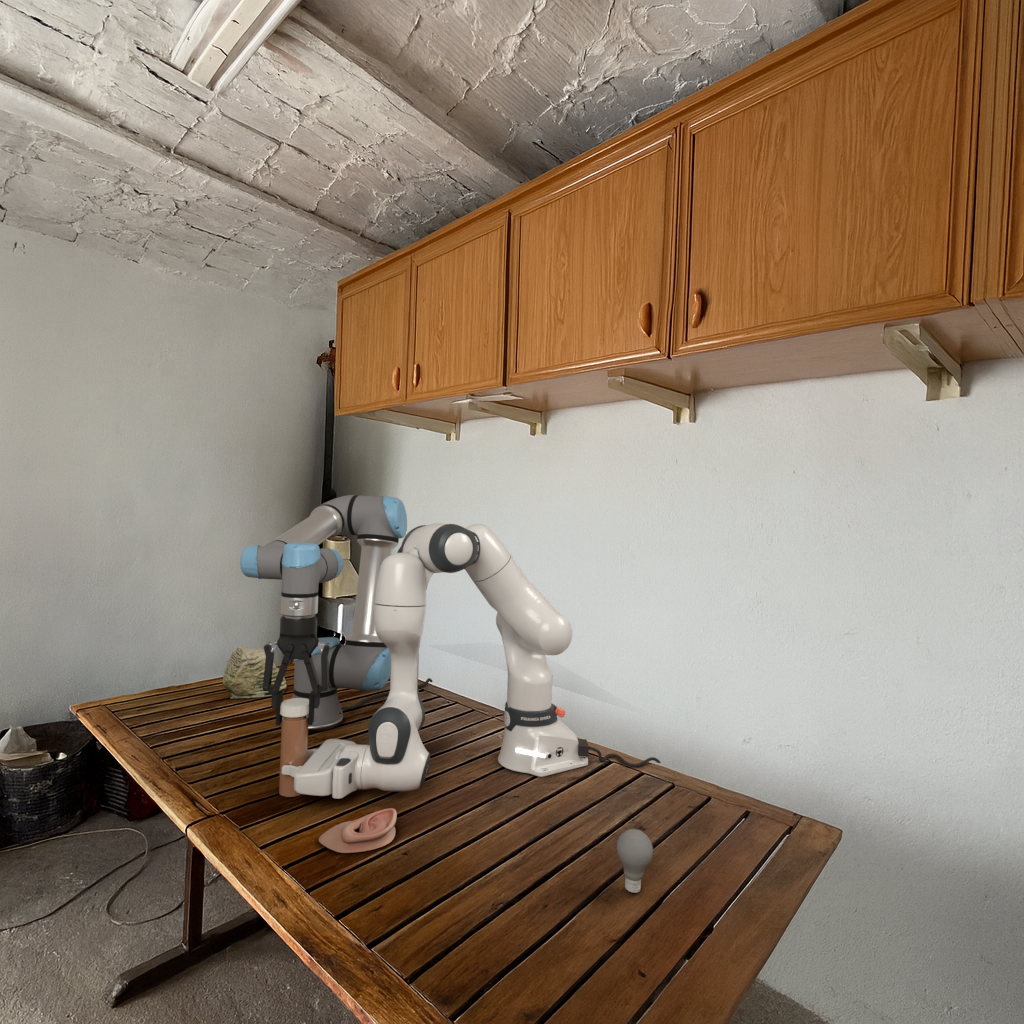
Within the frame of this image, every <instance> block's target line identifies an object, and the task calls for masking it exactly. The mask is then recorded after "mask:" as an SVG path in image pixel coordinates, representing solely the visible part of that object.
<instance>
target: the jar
mask: <svg viewBox="0 0 1024 1024" xmlns="http://www.w3.org/2000/svg"><path fill="white" fill-rule="evenodd" d="M308 718H309V716H308V715H305V716H302V717H284V716H282V720H281V724H280V747H279V748H280V750H279V777H278V778H279V779H278V794H279V795H280V796H282V797H285V798H295V797H298V796H301V795H302V794H299V793H297V792H296V791H294V777H292V776H290V775H283V774H282V767H283V766H284V765H285V764H286V763H288V764H293V766H296V767H298V766H303V765H304V764H305V763H306V762H307V761H308V760H307V751H308V750H309V749H308V747H309V746H308V745H309V732H308Z"/></svg>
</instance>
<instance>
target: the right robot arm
mask: <svg viewBox="0 0 1024 1024" xmlns="http://www.w3.org/2000/svg"><path fill="white" fill-rule="evenodd" d="M463 570H464V571H465V572H466V573H467V575H468V576H469V578H470V579H471V582H473V584H474V585H475V586H476V588H477V589H478V591H479V592H480V593H481V595H482V596H483V598H484V599H485V601H486V602H487V603H488V605H489V606H490V607H491V608H492V609H494V610H495V611H496V612H497V613H496V616H495V625H496V628H497V630H498V632H499V634H500V636H501V640H502V645H503V650H504V654H505V655H504V656H505V661H506V668H507V669H506V671H507V691H506V701H505V704H504V711H503V712H504V713H503V726H504V731H503V737H502V743H501V746H500V750H499V754H498V756H497V762H498V763H499V764H500V765H501V767H503V768H505V769H508V770H509V771H510V770H511V771H513V772H516V773H517V772H518V773H524V774H530V775H532V776H535V777H540V778H543V777H547V776H550V775H556V774H559V773H563V772H567V771H570V770H571V771H572V770H575V769H578V768H579V769H580V768H582V767H586V766H589V752H590V751H594V752H595V753H597V755H598V759H599V761H600V762H602V763H604V762H606V761H607V760H608V759H609V758H611V757H612V758H616V759H618V760H619V761H620V762H622V764H624V765H625V766H627V767H631V768H638V767H641V766H644V765H645V764H648V763H649V762H651V761H654V762H656V763H657V764H661V761H660V759H658V758H657V757H654V756H651V757H648V758H646V759H645V760H643V761H641V762H638V763H631V762H628V761H626V760H625V759H624V758H623V757H622V756H621V755H618V754H616V753H608V754H606V755H605V756H604V757H603V755H602V752H601V751H600V749H598V748H597V747H593V746H590V745H589V742H588V740H587V738H585V739H584V738H578V737H577V734H576V733H575V732H574V731H573V730H572V729H571V728H569V727H568V726H567V725H566V724H564V722H562V721H561V720H560V719H559V718H561V719H562V718H564V717H565V716H566V710H565V709H564V708H563V707H558V706H557V705H555V704H553V703H552V700H553V678H554V675H553V672H552V669H551V667H550V666H549V663H548V661H547V658H546V657H547V656H558V655H561V654H562V653H564V652H565V651H567V649H568V648H569V646H570V645H571V643H572V640H573V635H574V633H573V627H572V624H571V621H570V620H568V619H567V617H565V616H564V615H563V614H561V612H559V611H558V610H557V609H556V607H554V605H553V604H552V603H551V602H550V601H549V600H548V599H547V598H546V596H544V594H543V593H542V592H541V591H540V590H539V589H538V588H537V587H536V586H535V585H534V583H532V582H531V581H530V579H529V578H528V577H527V576H526V573H524V571H523V570H522V568H521V566H520V565H519V564H518V563H517V561H516V559H514V556H513V555H512V554H511V551H509V549H508V548H507V547H506V546H505V543H503V541H502V540H501V539H500V538H499V536H498V535H496V534H495V533H494V531H492V529H491V528H489V527H488V526H487V525H485V524H482V523H475V524H471V525H468V526H466V527H464V526H462V525H459V524H455V523H443V522H442V523H440V522H437V523H436V522H435V523H431V524H423V525H419V526H416V527H414V528H412V529H410V530H409V531H408V532H407V533H406V535H405V537H403V539H402V542H401V545H400V546H399V548H398V550H397V552H396V553H392V555H390V556H388V557H386V558H385V559H384V560H383V562H382V564H381V567H380V571H379V575H378V580H377V585H376V592H375V604H374V623H375V631H376V635H377V636H378V638H379V639H380V640H381V641H382V642H383V643H384V644H385V645H386V646H387V648H388V650H389V652H390V657H391V672H390V677H389V679H390V681H389V682H390V683H389V691H388V692H389V695H387V698H386V700H385V702H384V704H383V705H382V706H380V707H379V708H378V710H377V711H375V712H374V714H373V715H372V717H371V718H370V720H369V723H368V726H367V727H368V728H367V730H368V731H367V732H368V734H367V735H368V744H358V743H356V742H355V741H353V740H347V739H340V738H329V739H326V740H325V741H323V742H322V743H321V744H320V746H319V747H318V748H311V749H308V751H307V762H306V763H305V764H304V765H303V766H298V767H296V766H293V764H288V763H286V764H285V765H284V766H283V767H282V774H283V775H290V776H292V777H294V791H296V792H297V793H299V794H301V795H306V796H314V797H316V796H317V797H327V796H330V795H331V797H332V799H334V800H335V799H337V800H340V799H343V798H345V797H346V796H348V795H350V794H351V793H353V792H355V791H357V790H362V791H363V790H364V791H366V790H371V789H378V790H380V791H382V792H383V791H384V792H412V791H416V790H418V789H420V788H421V787H422V786H423V784H424V783H425V781H426V779H427V775H428V772H429V768H430V765H431V754H430V752H429V751H428V750H427V748H426V747H425V745H424V744H423V741H422V739H421V737H420V731H421V729H422V728H423V726H424V724H425V721H426V710H425V706H424V704H423V701H422V698H421V696H420V695H421V694H420V692H419V688H418V685H419V663H420V661H419V659H420V658H419V657H420V653H419V652H420V646H421V641H422V637H423V631H424V625H425V621H426V620H425V619H426V613H427V612H426V611H427V591H428V590H427V589H428V586H429V582H430V580H431V578H432V577H433V575H434V574H440V573H445V574H446V573H447V574H454V573H459V572H461V571H463Z"/></svg>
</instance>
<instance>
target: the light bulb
mask: <svg viewBox="0 0 1024 1024" xmlns="http://www.w3.org/2000/svg"><path fill="white" fill-rule="evenodd" d="M615 849H616V854H617V857H618V859H619V861H620V863H621V865H622V867H623V873H624V874H623V875H624V876H625V878H624V888H625V890H627V891H628V892H630V893H634V894H635V893H639V892H640V891H641V889H642V887H641V886H642V879H643V877H644V875H645V871H646V868H647V867H648V866H649V864H650V863H651V861H652V859H653V855H654V847H653V843H652V841H651V838H649V836H648V835H647V834H646V833H645V832H643V831H642V830H641V829H636V828H629V829H627V830H625V831H623V832H622V833H621V834H620V835H619V837H618V839H617V841H616V847H615Z"/></svg>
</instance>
